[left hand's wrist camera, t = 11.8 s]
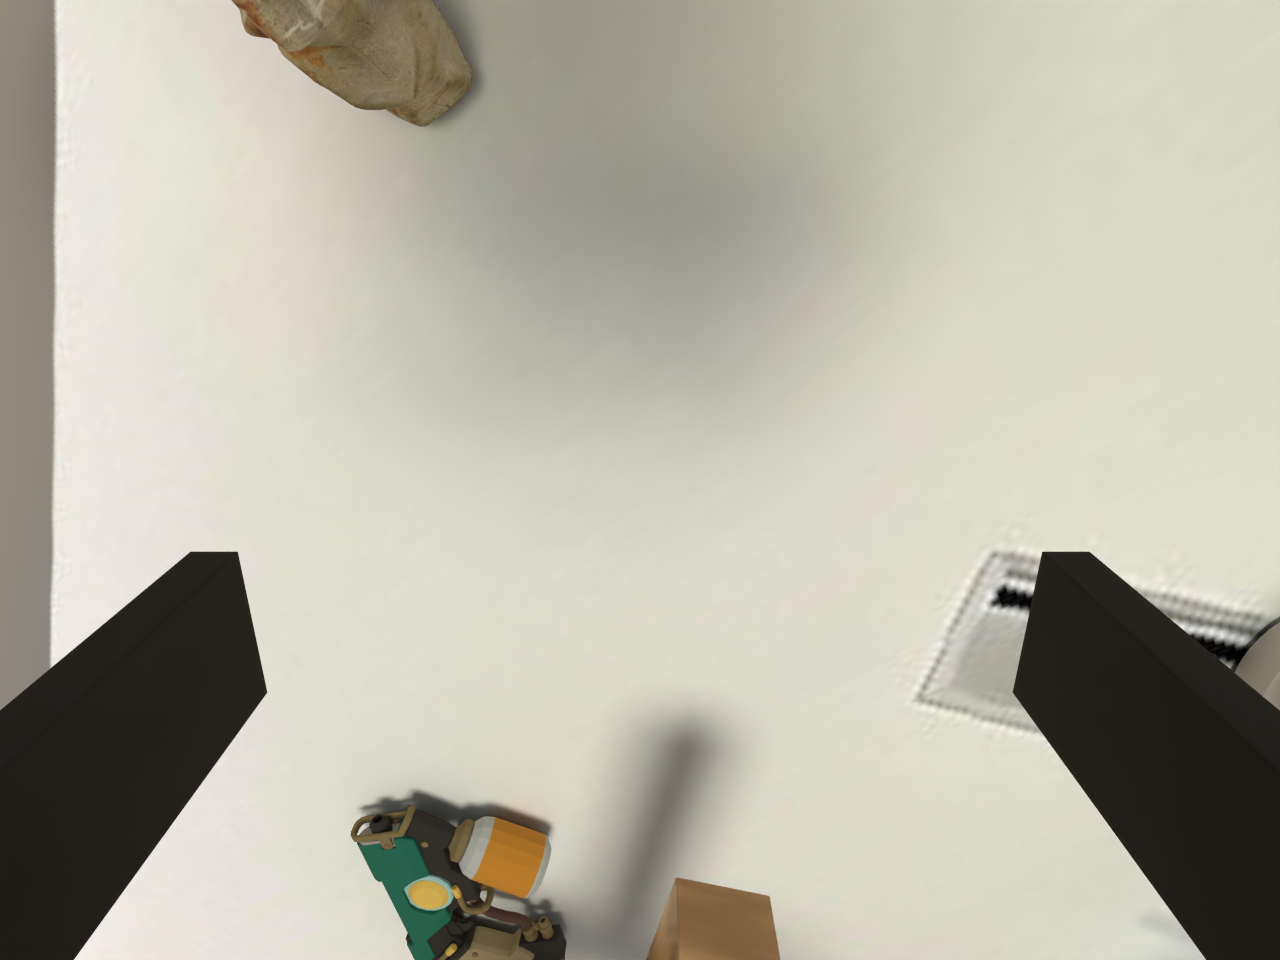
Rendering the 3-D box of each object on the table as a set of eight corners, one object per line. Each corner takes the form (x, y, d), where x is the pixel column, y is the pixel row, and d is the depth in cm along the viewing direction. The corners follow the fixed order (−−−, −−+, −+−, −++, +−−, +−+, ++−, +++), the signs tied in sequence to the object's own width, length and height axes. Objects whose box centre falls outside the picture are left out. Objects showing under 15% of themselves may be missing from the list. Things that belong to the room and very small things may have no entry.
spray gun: (567, 954, 61) (379, 938, 62) (574, 800, 54) (361, 783, 55) (560, 1010, 58) (359, 993, 58) (566, 852, 51) (337, 833, 51)
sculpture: (408, -64, 36) (262, -216, 22) (504, 78, 38) (427, 22, 24) (316, 18, 37) (123, -78, 23) (414, 151, 39) (291, 137, 26)
